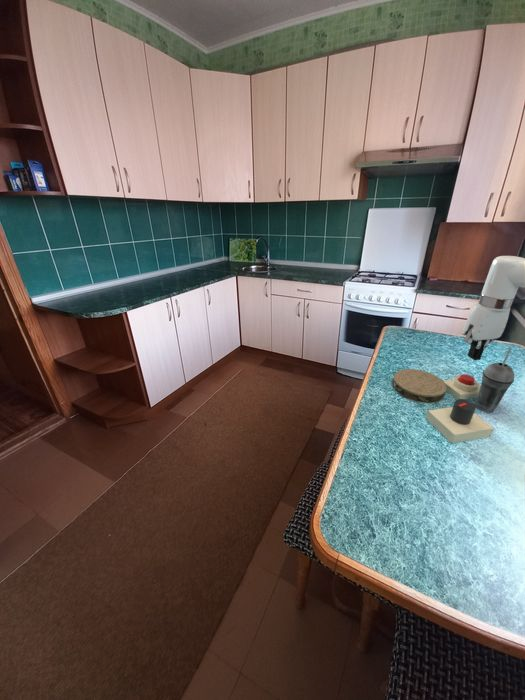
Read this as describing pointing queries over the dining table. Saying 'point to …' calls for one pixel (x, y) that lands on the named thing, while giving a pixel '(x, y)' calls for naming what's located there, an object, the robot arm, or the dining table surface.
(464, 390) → the block
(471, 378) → the power button
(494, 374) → the beverage cup
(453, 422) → the panel
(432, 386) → the brown cork coaster
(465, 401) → the timer dial
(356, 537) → the dining table surface
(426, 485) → the dining table surface
